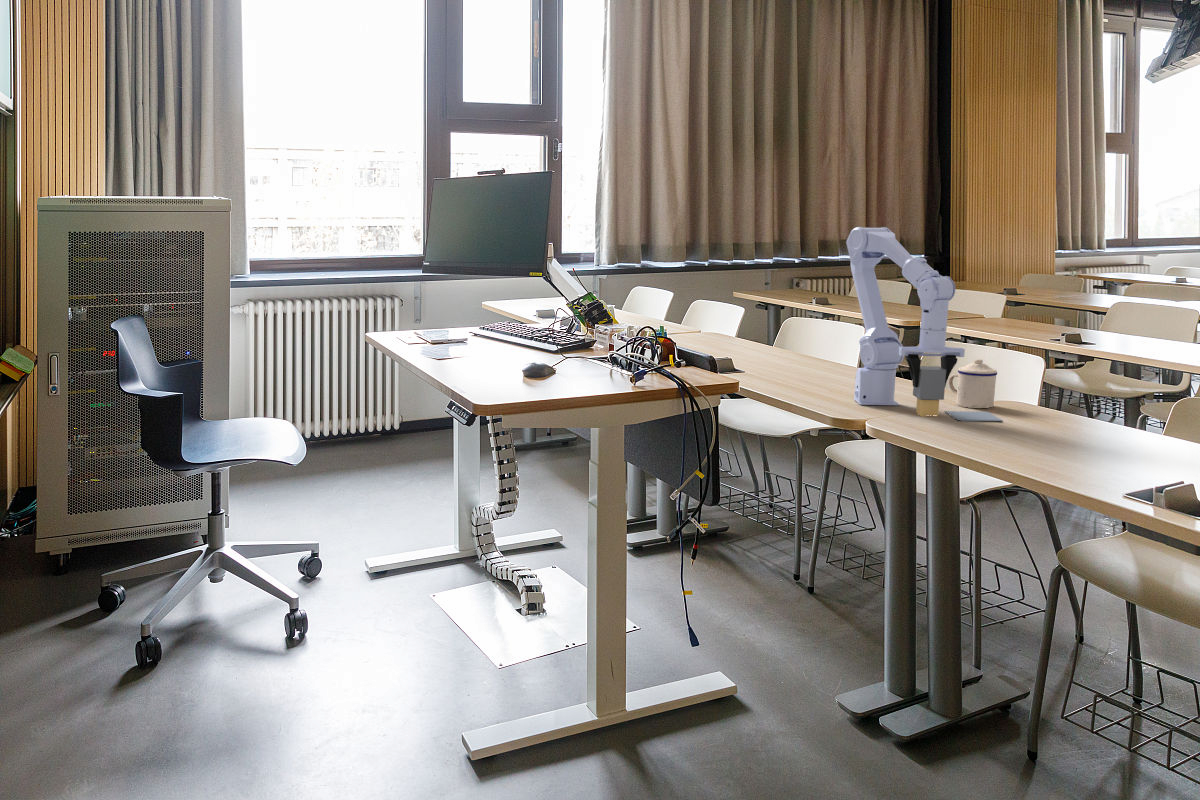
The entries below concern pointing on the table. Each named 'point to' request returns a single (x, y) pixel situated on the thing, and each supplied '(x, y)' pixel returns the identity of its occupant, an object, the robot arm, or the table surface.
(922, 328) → the robot arm
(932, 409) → the ochre cube
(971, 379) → the teacup with lid
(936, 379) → the blue-gray cube on pad
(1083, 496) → the table surface
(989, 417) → the slate mat
